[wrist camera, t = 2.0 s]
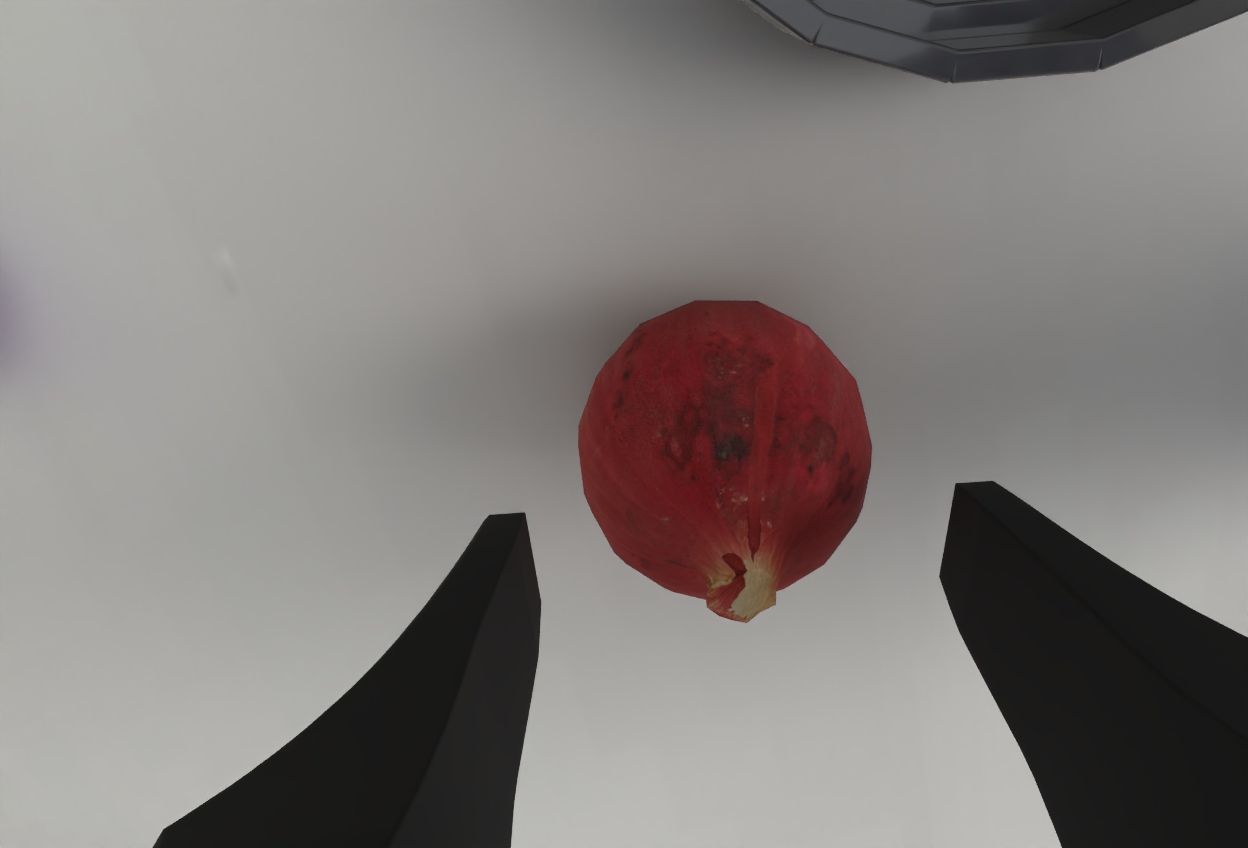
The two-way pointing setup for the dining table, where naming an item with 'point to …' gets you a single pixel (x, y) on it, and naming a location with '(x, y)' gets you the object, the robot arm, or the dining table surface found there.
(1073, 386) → the dining table surface
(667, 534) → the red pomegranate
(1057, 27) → the pan
